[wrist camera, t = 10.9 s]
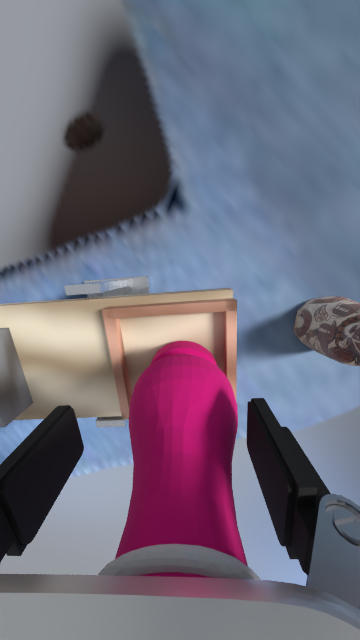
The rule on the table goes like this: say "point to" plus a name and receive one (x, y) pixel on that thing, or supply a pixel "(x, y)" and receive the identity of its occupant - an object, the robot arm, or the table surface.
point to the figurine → (331, 328)
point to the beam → (103, 348)
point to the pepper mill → (182, 471)
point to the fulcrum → (104, 290)
